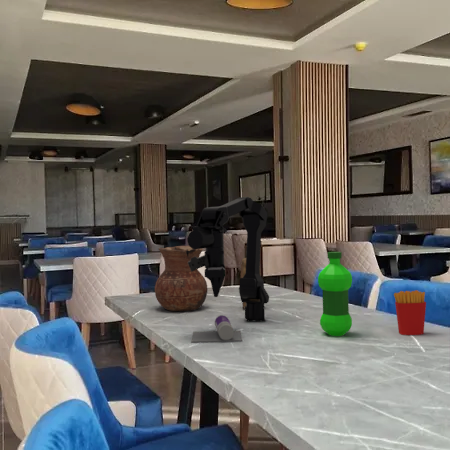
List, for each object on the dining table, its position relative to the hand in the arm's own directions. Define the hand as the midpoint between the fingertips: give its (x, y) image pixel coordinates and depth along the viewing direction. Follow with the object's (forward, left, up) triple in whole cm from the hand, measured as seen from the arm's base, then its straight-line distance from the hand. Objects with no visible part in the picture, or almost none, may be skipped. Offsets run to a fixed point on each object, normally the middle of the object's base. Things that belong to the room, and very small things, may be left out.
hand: (215, 296), depth 165 cm
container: (-2, -4, -9) cm, 10 cm away
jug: (+14, -47, -12) cm, 50 cm away
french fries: (-59, +7, -12) cm, 60 cm away
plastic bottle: (-37, +5, -12) cm, 39 cm away
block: (-14, -44, -12) cm, 47 cm away
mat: (0, +5, -12) cm, 13 cm away
